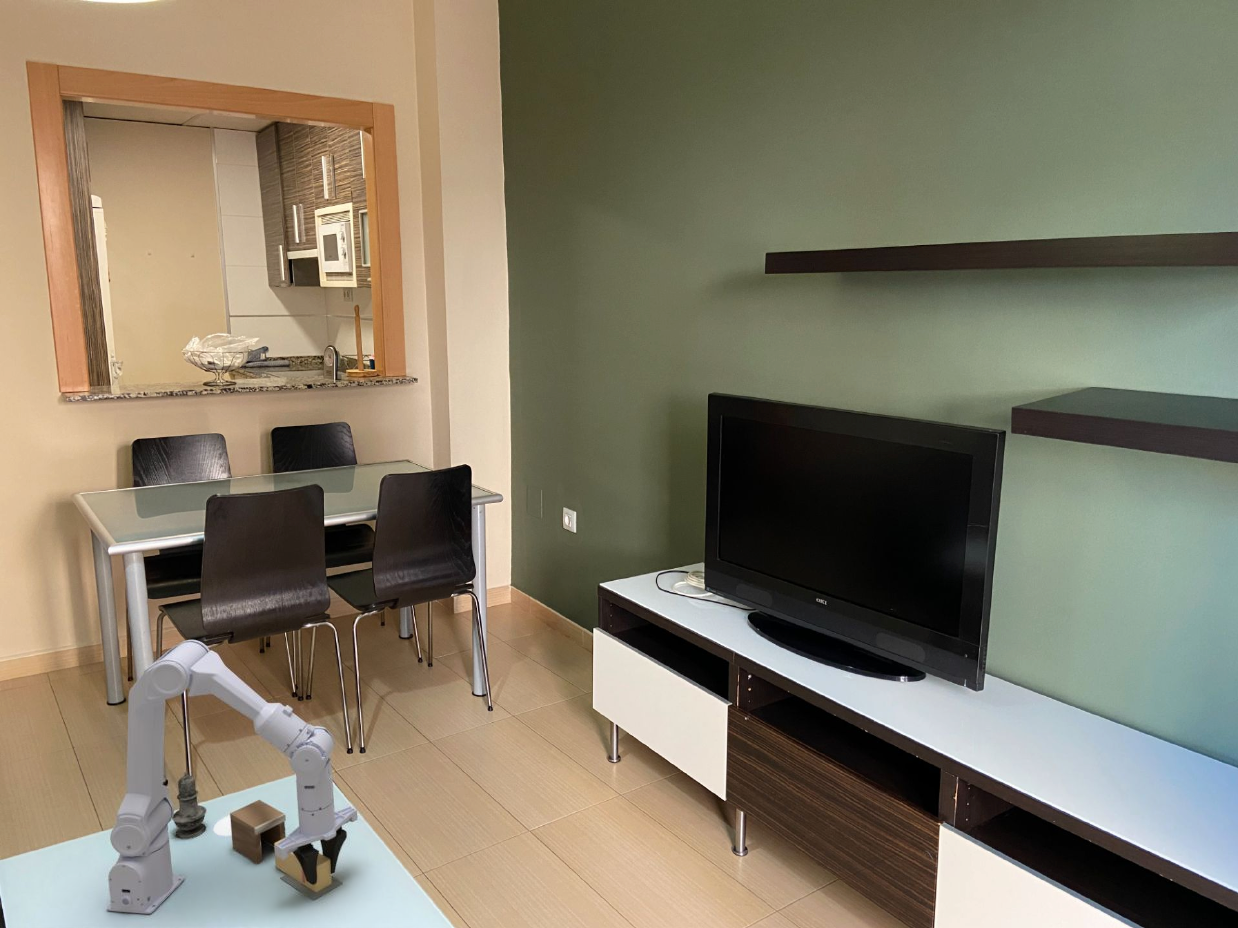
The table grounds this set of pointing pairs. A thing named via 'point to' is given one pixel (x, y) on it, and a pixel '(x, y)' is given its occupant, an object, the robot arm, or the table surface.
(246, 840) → the brown wooden open box
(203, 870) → the table surface
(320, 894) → the mat
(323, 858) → the tan rectangular block
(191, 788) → the grey stone finial
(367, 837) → the table surface
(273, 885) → the table surface
